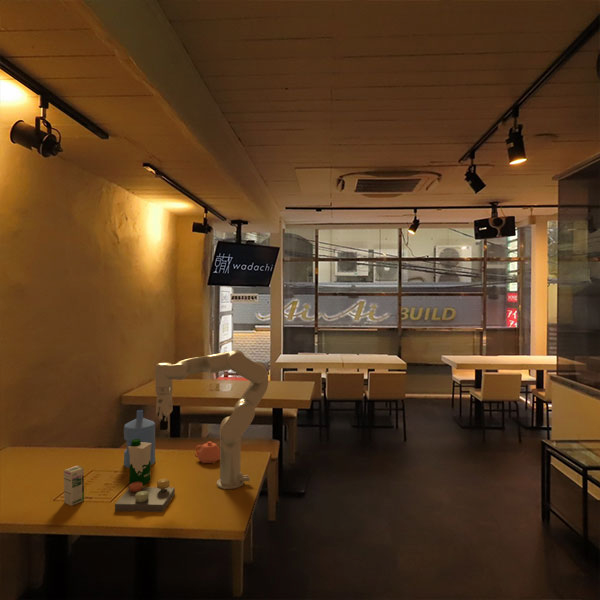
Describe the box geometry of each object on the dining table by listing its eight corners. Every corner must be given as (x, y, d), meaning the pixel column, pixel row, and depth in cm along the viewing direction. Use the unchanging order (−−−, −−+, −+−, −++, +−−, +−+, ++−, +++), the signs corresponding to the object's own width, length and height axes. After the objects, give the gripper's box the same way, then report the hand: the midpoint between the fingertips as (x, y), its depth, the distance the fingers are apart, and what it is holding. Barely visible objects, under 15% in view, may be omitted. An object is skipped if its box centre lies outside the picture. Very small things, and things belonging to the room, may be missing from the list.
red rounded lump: (144, 492, 197) (144, 481, 197) (139, 498, 192) (139, 486, 192) (132, 492, 197) (132, 481, 197) (127, 498, 192) (127, 486, 192)
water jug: (143, 455, 243) (143, 405, 243) (161, 462, 234) (161, 409, 234) (117, 464, 231) (117, 411, 230) (135, 471, 222) (135, 416, 221)
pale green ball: (150, 502, 188) (150, 491, 188) (145, 508, 183) (145, 496, 183) (138, 502, 188) (138, 490, 188) (133, 508, 183) (133, 496, 183)
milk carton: (136, 477, 215) (136, 437, 214) (153, 479, 213) (153, 438, 212) (126, 485, 206) (126, 443, 206) (143, 487, 204) (143, 444, 204)
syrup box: (71, 506, 186) (71, 472, 186) (63, 502, 189) (63, 469, 189) (84, 501, 191) (84, 467, 190) (76, 497, 194) (76, 464, 194)
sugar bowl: (218, 465, 231) (218, 446, 231) (192, 465, 231) (192, 445, 231) (223, 456, 243) (223, 438, 243) (197, 456, 243) (197, 438, 243)
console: (174, 494, 198) (174, 487, 198) (163, 511, 182) (163, 504, 182) (130, 493, 198) (130, 486, 198) (114, 511, 182) (114, 503, 182)
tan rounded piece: (170, 489, 197) (171, 478, 197) (167, 495, 191) (167, 483, 191) (159, 489, 197) (159, 478, 197) (155, 494, 192) (155, 483, 191)
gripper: (166, 393, 196) (166, 434, 196) (176, 386, 211) (176, 424, 211) (150, 393, 196) (150, 434, 196) (161, 386, 211) (161, 424, 211)
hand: (163, 429), depth 204 cm, fingers closed
